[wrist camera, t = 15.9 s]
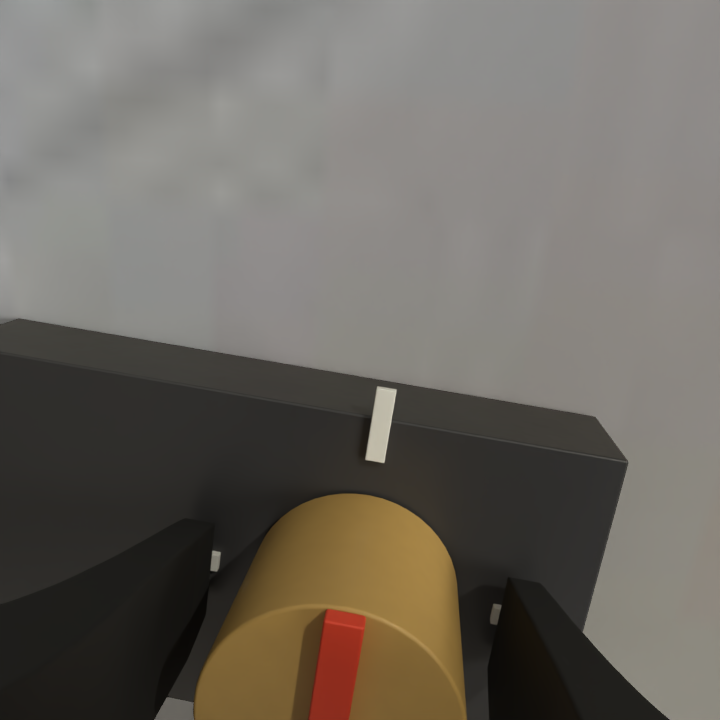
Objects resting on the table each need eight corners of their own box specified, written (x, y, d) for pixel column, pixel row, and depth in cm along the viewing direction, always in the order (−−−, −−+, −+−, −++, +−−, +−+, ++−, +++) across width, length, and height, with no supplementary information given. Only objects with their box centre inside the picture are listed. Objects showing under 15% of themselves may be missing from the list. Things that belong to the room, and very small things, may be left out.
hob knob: (437, 691, 14) (440, 883, 10) (243, 653, 14) (174, 826, 10) (475, 513, 13) (495, 650, 9) (264, 475, 13) (197, 593, 9)
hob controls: (602, 389, 14) (641, 433, 12) (522, 708, 16) (540, 804, 14) (18, 292, 15) (-66, 312, 13) (13, 608, 17) (-61, 681, 15)
